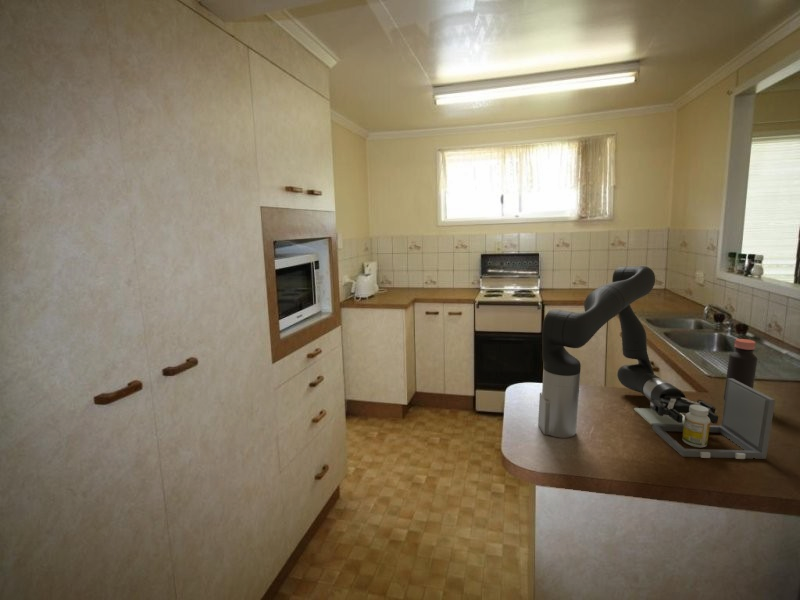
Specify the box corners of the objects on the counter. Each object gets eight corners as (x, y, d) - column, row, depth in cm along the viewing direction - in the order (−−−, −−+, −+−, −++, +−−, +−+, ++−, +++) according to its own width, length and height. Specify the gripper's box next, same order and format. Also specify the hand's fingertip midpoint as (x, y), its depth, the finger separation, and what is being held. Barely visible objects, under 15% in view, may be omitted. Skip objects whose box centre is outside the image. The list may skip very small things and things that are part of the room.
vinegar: (740, 398, 136) (749, 338, 132) (756, 406, 129) (765, 344, 126) (718, 397, 137) (726, 337, 133) (732, 406, 130) (741, 343, 126)
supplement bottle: (692, 448, 105) (697, 412, 104) (676, 438, 111) (681, 403, 109) (712, 447, 106) (717, 411, 104) (695, 437, 111) (700, 402, 110)
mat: (651, 424, 118) (651, 423, 118) (633, 409, 128) (634, 408, 128) (695, 425, 117) (695, 424, 117) (674, 410, 127) (675, 408, 127)
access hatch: (683, 457, 101) (691, 399, 99) (652, 429, 116) (657, 377, 113) (767, 460, 100) (777, 400, 97) (725, 430, 114) (732, 378, 112)
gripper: (639, 382, 122) (671, 405, 106) (690, 382, 122) (730, 406, 106) (636, 406, 124) (668, 432, 108) (687, 407, 123) (726, 434, 107)
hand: (698, 419), depth 107 cm, fingers open, 8 cm apart
